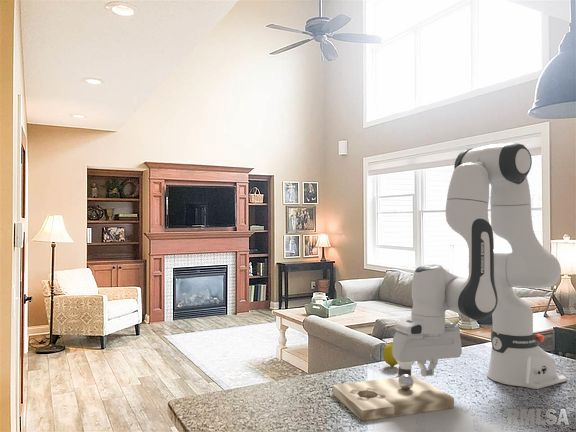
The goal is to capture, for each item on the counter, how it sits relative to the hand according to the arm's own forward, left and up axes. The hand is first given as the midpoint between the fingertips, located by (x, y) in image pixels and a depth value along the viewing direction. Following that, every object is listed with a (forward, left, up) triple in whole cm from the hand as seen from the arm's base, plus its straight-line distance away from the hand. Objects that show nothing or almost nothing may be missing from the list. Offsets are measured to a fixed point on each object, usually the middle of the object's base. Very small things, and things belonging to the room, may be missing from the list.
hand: (427, 375), depth 127 cm
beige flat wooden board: (+11, -1, -6) cm, 12 cm away
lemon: (-4, -26, -6) cm, 27 cm away
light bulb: (-4, -18, -6) cm, 19 cm away
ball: (+6, -1, -1) cm, 6 cm away
